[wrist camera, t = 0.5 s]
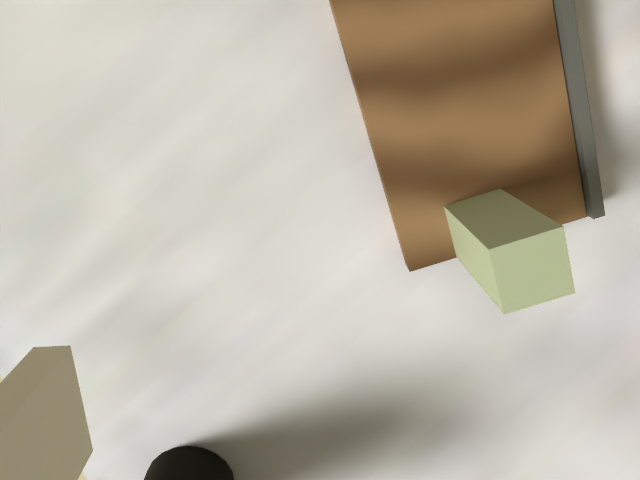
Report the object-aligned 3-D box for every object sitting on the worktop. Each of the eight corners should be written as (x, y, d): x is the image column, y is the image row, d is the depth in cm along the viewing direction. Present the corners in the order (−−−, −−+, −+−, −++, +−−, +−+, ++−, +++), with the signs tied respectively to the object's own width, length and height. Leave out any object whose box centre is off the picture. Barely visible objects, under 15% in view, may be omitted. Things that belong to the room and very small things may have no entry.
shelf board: (292, -124, 30) (292, -133, 29) (507, -204, 29) (517, -218, 28) (405, 264, 38) (409, 271, 37) (576, 211, 37) (586, 216, 36)
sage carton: (443, 206, 35) (488, 249, 27) (500, 187, 35) (564, 226, 27) (456, 257, 37) (503, 314, 28) (511, 240, 36) (576, 292, 28)
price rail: (508, -204, 29) (524, -226, 27) (523, -210, 29) (540, -231, 27) (577, 210, 37) (593, 218, 35) (589, 206, 37) (606, 215, 35)
